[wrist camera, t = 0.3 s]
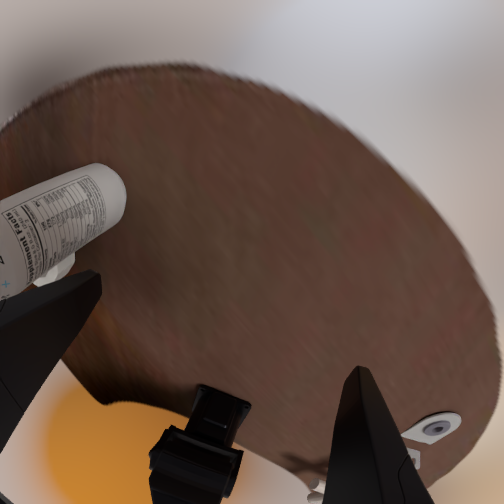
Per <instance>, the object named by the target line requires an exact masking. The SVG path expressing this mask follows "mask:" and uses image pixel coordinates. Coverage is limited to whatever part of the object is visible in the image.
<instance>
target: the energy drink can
mask: <svg viewBox="0 0 504 504" xmlns="http://www.w3.org/2000/svg"><path fill="white" fill-rule="evenodd" d="M125 204H126V190H125V186H124V184H123V181H122V180H121V178H120V176H119V175H118V174H117V173H116V172H115V171H113V170H112V169H110V168H109V167H107V166H105V165H103V164H99V163H92V164H89V165H87V166H84V167H81V168H78V169H75V170H73V171H70V172H67V173H65V174H62V175H59V176H57V177H54V178H52V179H49V180H47V181H44V182H42V183H40V184H37V185H35V186H32V187H30V188H28V189H25V190H23V191H21V192H19V193H16V194H14V195H12V196H10V197H8V198H5V199H3V200H1V201H0V300H2V299H7V298H9V297H11V296H14V295H17V294H19V293H20V292H21V291H23V290H24V289H25V288H26V287H28V286H29V285H30V284H32V283H33V282H34V281H35V280H37V279H38V278H39V277H41V276H42V275H43V274H45V273H46V272H47V271H49V270H50V269H52V268H53V267H54V266H56V265H57V264H58V263H60V262H61V261H63V260H64V259H65V258H67V257H68V256H70V255H71V254H72V253H74V252H75V251H77V250H78V249H80V248H81V247H83V246H84V245H85V244H87V243H88V242H90V241H91V240H93V239H94V238H96V237H97V236H99V235H100V234H102V233H103V232H105V231H106V230H108V229H109V228H111V227H112V226H114V225H115V224H117V223H118V222H119V221H120V219H121V218H122V215H123V213H124V209H125Z"/></svg>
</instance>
